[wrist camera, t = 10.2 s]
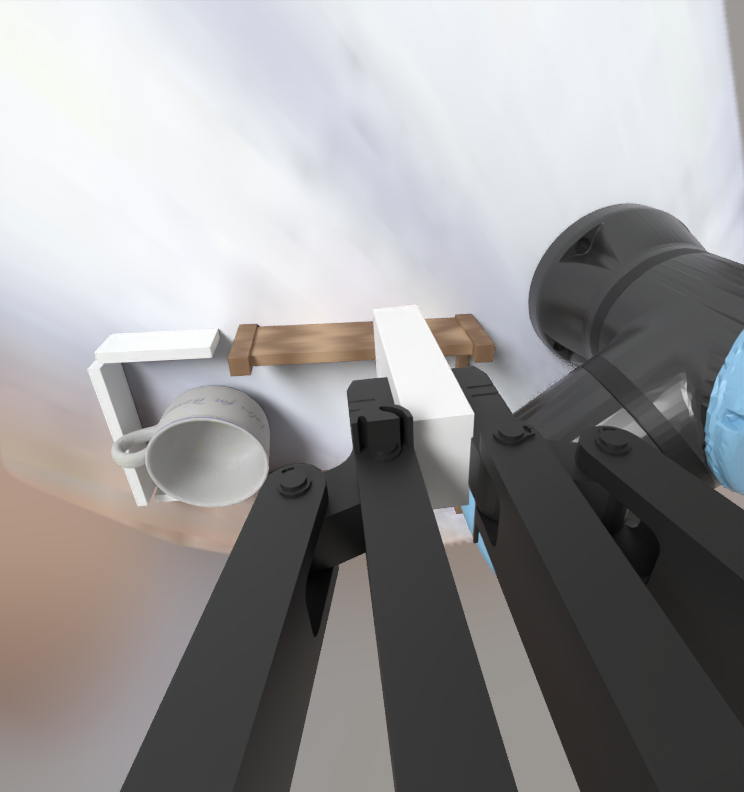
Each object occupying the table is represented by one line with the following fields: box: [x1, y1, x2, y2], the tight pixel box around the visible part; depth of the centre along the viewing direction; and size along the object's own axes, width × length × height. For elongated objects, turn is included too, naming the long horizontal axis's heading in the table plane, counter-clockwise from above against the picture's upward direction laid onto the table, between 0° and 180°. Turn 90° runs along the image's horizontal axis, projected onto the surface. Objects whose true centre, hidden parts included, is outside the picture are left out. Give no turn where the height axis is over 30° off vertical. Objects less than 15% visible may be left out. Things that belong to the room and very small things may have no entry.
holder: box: [87, 329, 220, 506], centre depth 46 cm, size 10×19×4 cm, turn 0°
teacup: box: [111, 385, 270, 507], centre depth 45 cm, size 14×11×8 cm
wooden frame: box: [228, 314, 495, 514], centre depth 47 cm, size 22×20×7 cm
